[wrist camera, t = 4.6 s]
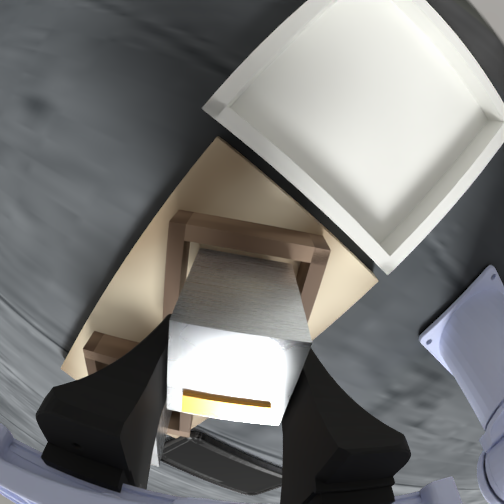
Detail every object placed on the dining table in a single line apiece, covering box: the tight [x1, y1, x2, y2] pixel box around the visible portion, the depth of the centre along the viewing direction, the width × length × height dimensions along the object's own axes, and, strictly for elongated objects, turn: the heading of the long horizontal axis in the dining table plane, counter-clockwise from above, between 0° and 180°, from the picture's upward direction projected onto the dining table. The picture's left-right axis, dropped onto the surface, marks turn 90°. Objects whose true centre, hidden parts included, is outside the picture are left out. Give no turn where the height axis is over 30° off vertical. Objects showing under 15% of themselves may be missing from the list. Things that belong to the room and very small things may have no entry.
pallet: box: [61, 136, 378, 438], centre depth 19 cm, size 12×22×3 cm, turn 139°
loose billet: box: [167, 248, 312, 425], centre depth 13 cm, size 4×4×6 cm
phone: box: [160, 431, 282, 495], centre depth 28 cm, size 8×1×15 cm
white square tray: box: [201, 0, 504, 275], centre depth 13 cm, size 13×13×2 cm
